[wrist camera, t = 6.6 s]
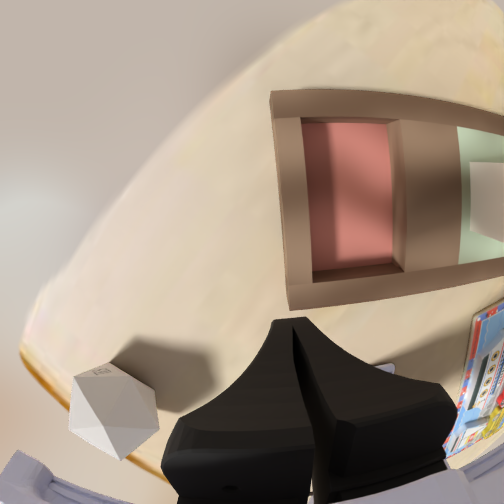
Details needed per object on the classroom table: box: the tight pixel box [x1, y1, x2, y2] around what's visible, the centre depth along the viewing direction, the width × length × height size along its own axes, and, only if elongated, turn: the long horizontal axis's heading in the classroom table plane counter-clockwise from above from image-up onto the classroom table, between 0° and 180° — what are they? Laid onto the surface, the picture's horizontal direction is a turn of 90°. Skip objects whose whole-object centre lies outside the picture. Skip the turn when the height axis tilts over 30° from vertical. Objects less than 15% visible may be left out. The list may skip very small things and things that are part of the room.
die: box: [69, 363, 159, 461], centre depth 20 cm, size 8×9×10 cm
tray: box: [270, 89, 504, 311], centre depth 17 cm, size 14×28×2 cm, turn 96°
